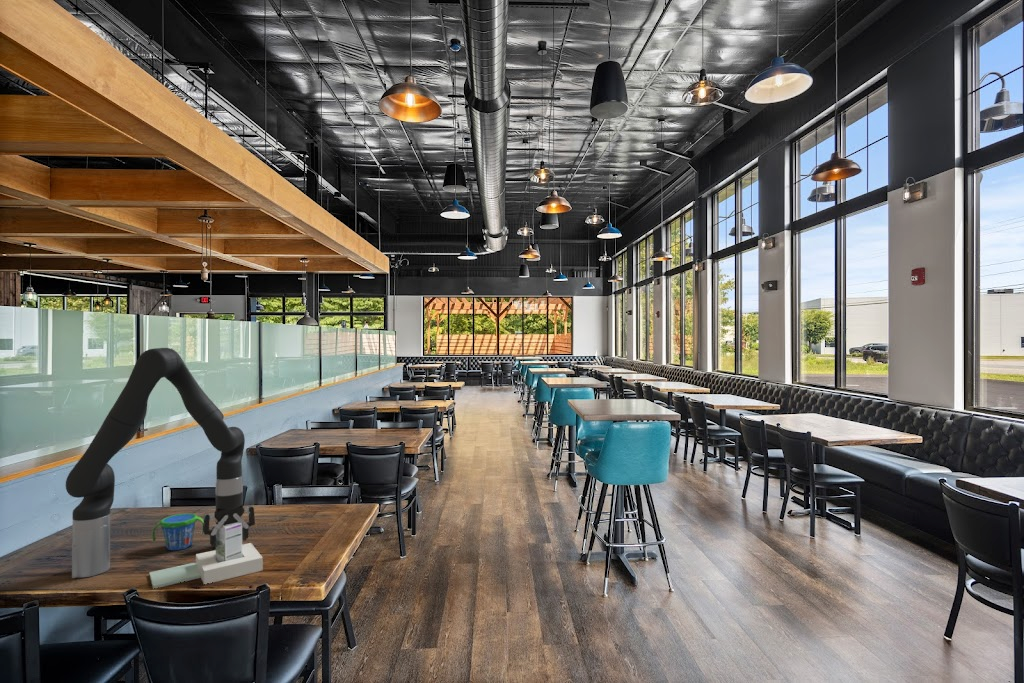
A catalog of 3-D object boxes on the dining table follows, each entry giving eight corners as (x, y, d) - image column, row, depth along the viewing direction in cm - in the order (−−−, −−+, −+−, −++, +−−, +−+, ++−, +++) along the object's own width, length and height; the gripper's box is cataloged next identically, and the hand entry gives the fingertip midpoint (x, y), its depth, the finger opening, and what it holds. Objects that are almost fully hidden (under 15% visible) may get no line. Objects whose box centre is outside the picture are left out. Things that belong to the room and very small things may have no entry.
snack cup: (148, 555, 178) (148, 525, 178) (157, 544, 188) (157, 515, 188) (201, 549, 183) (201, 520, 183) (207, 539, 193) (207, 511, 193)
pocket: (204, 584, 156) (204, 571, 156) (195, 566, 169) (195, 554, 169) (262, 570, 166) (262, 557, 166) (250, 554, 178) (250, 542, 178)
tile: (153, 589, 153) (153, 586, 153) (149, 574, 163) (149, 572, 163) (200, 577, 161) (200, 575, 161) (194, 564, 170) (194, 562, 170)
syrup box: (243, 567, 168) (243, 521, 168) (224, 574, 163) (224, 526, 163) (233, 563, 171) (233, 518, 171) (214, 570, 166) (214, 523, 166)
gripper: (205, 498, 160) (205, 552, 160) (256, 490, 169) (256, 541, 169) (201, 493, 166) (201, 545, 166) (251, 485, 175) (251, 534, 175)
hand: (229, 543), depth 167 cm, fingers open, 8 cm apart
